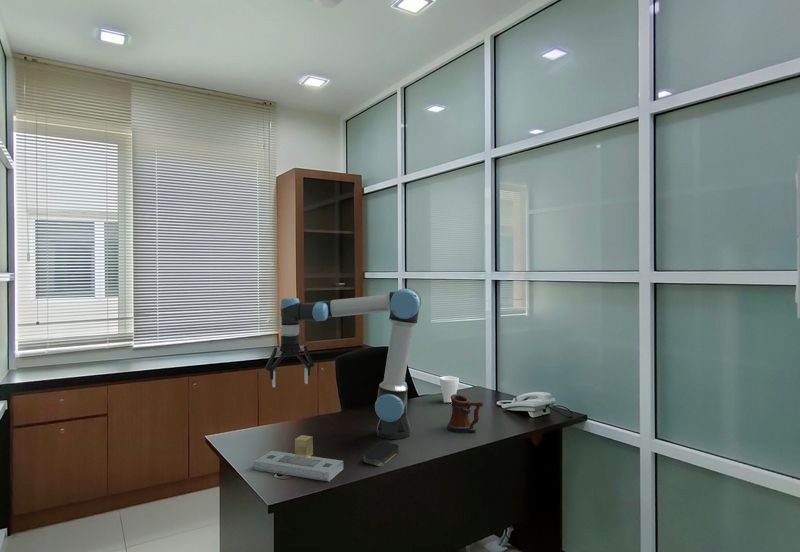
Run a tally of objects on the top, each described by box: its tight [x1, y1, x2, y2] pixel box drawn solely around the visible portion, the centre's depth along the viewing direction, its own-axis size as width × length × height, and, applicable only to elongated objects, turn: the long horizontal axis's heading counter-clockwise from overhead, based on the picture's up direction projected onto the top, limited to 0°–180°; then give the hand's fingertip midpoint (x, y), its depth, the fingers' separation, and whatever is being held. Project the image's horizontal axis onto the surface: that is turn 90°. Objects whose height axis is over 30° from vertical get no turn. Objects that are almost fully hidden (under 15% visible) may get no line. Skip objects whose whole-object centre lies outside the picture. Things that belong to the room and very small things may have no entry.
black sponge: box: [362, 441, 400, 467], centre depth 183 cm, size 16×8×4 cm, turn 155°
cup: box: [439, 375, 460, 403], centre depth 263 cm, size 10×10×14 cm
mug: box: [447, 393, 484, 434], centre depth 216 cm, size 18×12×15 cm, turn 45°
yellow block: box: [294, 434, 314, 456], centre depth 185 cm, size 5×5×7 cm
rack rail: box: [253, 450, 344, 482], centre depth 172 cm, size 30×11×3 cm, turn 71°
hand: (290, 385), depth 202 cm, fingers open, 13 cm apart
